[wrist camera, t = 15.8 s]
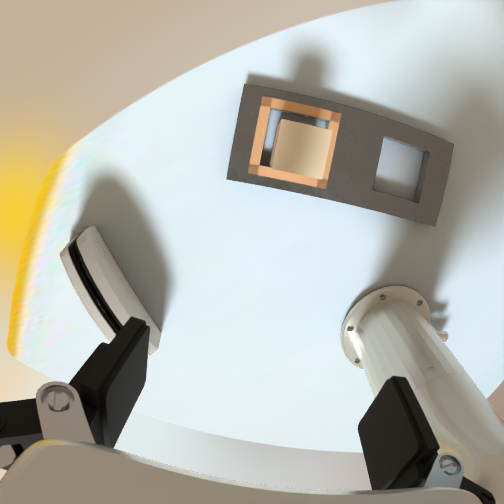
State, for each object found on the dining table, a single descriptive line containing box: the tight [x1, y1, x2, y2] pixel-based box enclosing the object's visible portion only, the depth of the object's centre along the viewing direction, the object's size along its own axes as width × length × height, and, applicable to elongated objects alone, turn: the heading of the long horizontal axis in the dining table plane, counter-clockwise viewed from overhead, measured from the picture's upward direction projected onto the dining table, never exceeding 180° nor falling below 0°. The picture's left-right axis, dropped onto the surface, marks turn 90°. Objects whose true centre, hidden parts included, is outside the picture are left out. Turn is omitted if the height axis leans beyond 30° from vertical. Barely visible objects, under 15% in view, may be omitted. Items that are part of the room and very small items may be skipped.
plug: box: [269, 119, 332, 180], centre depth 27 cm, size 4×4×9 cm
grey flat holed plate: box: [226, 84, 454, 227], centre depth 31 cm, size 24×10×2 cm, turn 79°
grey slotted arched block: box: [60, 225, 161, 355], centre depth 34 cm, size 17×5×10 cm, turn 27°
